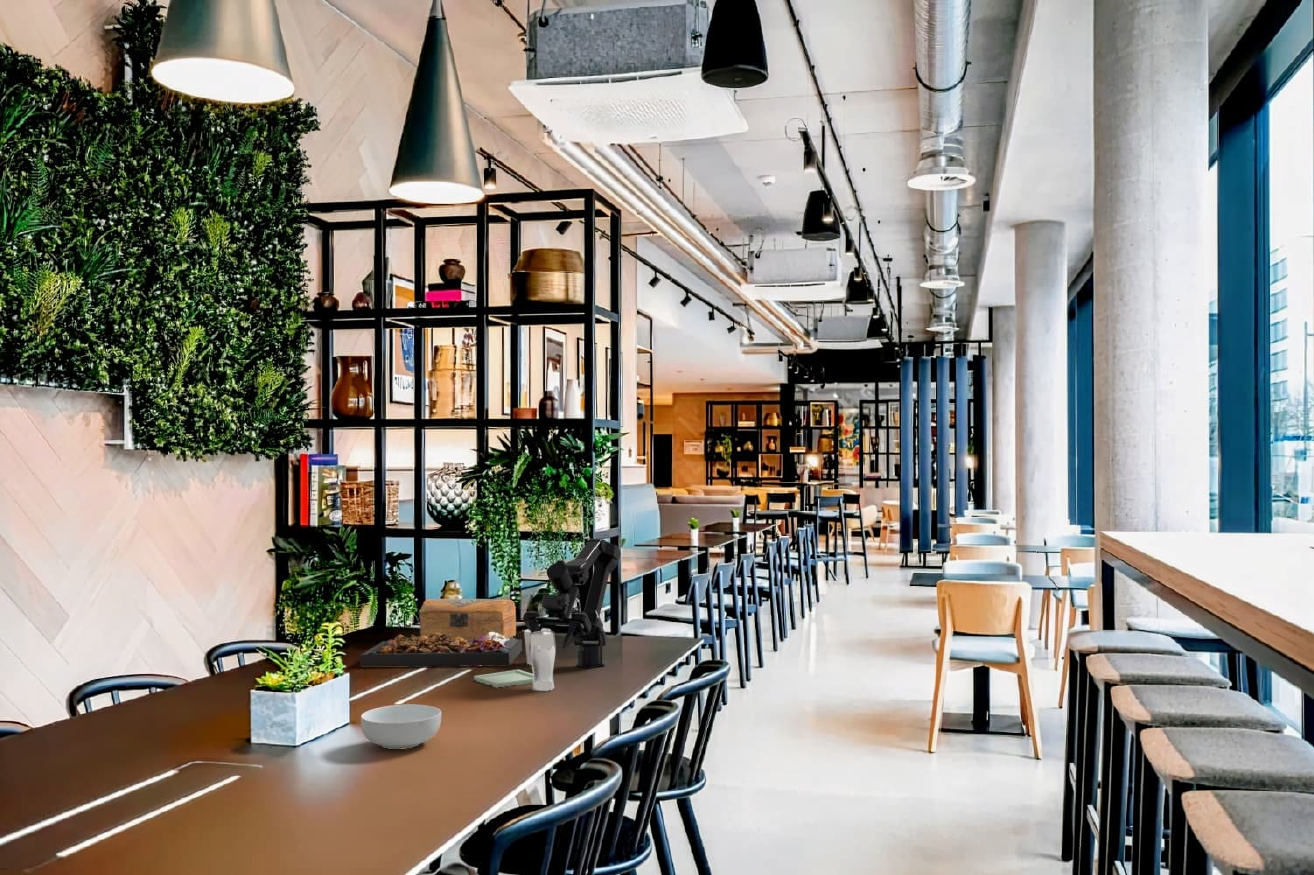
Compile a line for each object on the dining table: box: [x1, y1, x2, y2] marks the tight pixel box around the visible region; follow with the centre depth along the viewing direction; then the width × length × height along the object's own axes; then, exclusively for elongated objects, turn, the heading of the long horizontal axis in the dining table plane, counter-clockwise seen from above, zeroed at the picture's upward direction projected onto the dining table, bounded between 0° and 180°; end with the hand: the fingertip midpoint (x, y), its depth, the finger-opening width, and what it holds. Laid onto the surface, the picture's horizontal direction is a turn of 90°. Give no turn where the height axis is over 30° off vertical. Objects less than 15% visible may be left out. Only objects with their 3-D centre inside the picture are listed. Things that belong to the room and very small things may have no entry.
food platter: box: [359, 632, 523, 667], centre depth 333 cm, size 45×25×10 cm, turn 88°
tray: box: [473, 668, 533, 689], centre depth 298 cm, size 14×14×1 cm
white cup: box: [523, 627, 552, 666], centre depth 323 cm, size 8×8×10 cm
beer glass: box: [529, 630, 556, 692], centre depth 286 cm, size 7×7×15 cm
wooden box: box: [419, 598, 517, 640], centre depth 371 cm, size 30×16×14 cm, turn 80°
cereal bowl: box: [360, 703, 442, 749], centre depth 231 cm, size 17×17×7 cm
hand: (548, 647), depth 290 cm, fingers open, 9 cm apart
